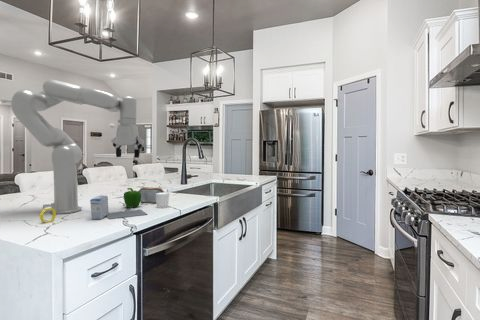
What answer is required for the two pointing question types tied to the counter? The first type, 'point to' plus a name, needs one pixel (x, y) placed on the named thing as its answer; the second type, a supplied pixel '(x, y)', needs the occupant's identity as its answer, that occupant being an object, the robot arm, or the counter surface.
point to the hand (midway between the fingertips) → (127, 157)
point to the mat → (125, 214)
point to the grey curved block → (149, 194)
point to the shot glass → (162, 199)
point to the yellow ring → (43, 213)
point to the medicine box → (99, 207)
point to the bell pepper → (132, 198)
